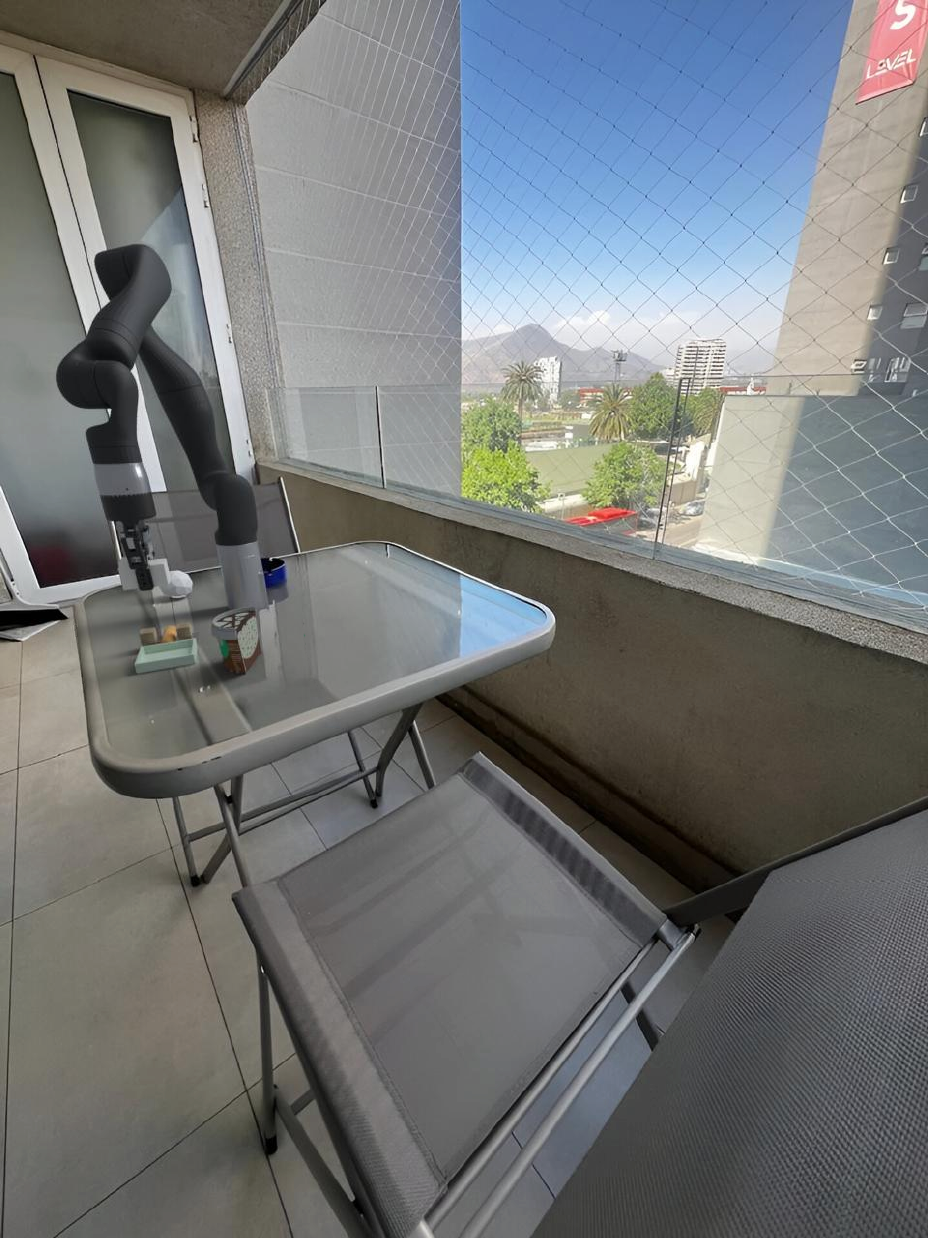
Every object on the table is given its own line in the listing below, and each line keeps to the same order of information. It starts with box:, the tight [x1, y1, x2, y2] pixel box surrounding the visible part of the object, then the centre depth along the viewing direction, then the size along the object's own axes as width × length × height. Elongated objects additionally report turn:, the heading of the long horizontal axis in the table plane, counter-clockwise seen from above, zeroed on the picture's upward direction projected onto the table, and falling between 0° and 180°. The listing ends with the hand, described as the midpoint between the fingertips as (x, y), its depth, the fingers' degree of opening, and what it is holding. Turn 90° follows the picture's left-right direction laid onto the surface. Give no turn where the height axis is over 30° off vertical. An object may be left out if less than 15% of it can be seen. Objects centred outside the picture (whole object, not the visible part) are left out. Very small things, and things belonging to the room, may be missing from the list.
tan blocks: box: [139, 621, 194, 647], centre depth 101 cm, size 9×3×4 cm, turn 115°
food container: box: [210, 607, 263, 675], centre depth 91 cm, size 12×6×10 cm, turn 5°
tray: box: [134, 638, 199, 675], centre depth 95 cm, size 10×9×2 cm
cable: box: [161, 625, 177, 644], centre depth 103 cm, size 2×9×2 cm, turn 25°
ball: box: [158, 570, 194, 597], centre depth 132 cm, size 8×8×8 cm
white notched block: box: [117, 556, 171, 591], centre depth 89 cm, size 7×4×5 cm, turn 114°
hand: (149, 585), depth 90 cm, fingers closed on white notched block, 4 cm apart
